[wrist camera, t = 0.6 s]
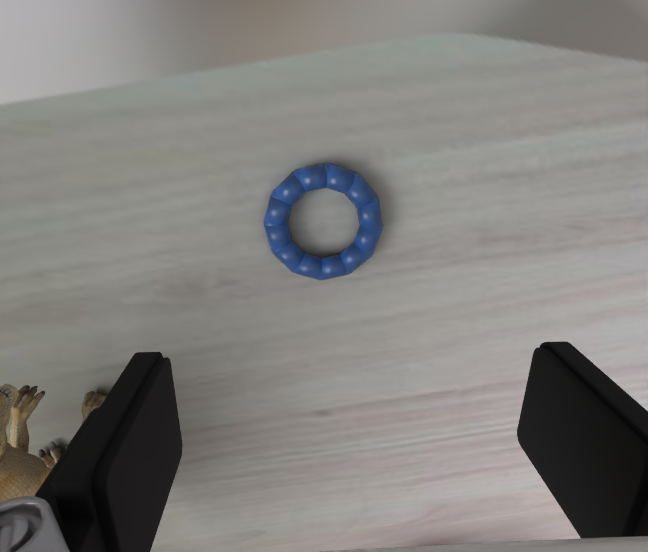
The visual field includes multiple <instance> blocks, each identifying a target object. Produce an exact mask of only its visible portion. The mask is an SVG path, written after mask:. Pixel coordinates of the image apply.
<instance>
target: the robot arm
mask: <svg viewBox="0 0 648 552" xmlns="http://www.w3.org/2000/svg"><path fill="white" fill-rule="evenodd" d="M517 436H518V441H519V443H520V445H521V447H522V449H523V450H524V452H525V453H526V455H527V456H528V458H529V459H530V461H531V462H532V464H533V465H534V467H535V468H536V470H537V471H538V473H539V475H540V476H541V478H542V479H543V481H544V482H545V484H546V485H547V487H548V488H549V490H550V491H551V493H552V494H553V496H554V497H555V499H556V501H557V502H558V504H559V505H560V507H561V508H562V510H563V511H564V513H565V514H566V516H567V517H568V519H569V520H570V522H571V523H572V525H573V527H574V528H575V530H576V531H577V533H578V534H579V536H580V537H581V539H561V540H539V541H516V542H494V543H474V544H454V545H434V546H414V547H395V548H375V549H356V550H338V551H321V552H648V411H647V410H645V409H644V408H643V407H642V406H641V405H640V404H639V403H637V402H636V401H635V400H634V399H633V398H632V397H631V396H629V395H628V394H627V393H626V392H625V391H624V390H623V389H621V388H620V387H619V386H618V385H617V384H616V383H615V382H613V381H612V380H611V379H610V378H609V377H608V376H607V375H605V374H604V373H603V372H602V371H601V370H600V369H599V368H598V367H596V366H595V365H594V364H593V363H592V362H591V361H590V360H588V359H587V358H586V357H585V356H584V355H583V354H582V353H580V352H579V351H578V350H577V349H576V348H575V347H574V346H572V345H571V344H570V343H568V342H544V343H542V344H541V345H540V348H536V349H535V351H534V353H533V357H532V362H531V367H530V372H529V377H528V381H527V386H526V391H525V396H524V401H523V405H522V410H521V415H520V420H519V424H518V429H517ZM181 455H182V438H181V431H180V424H179V417H178V410H177V403H176V397H175V390H174V383H173V376H172V369H171V363H170V359H169V358H163V356H162V354H161V353H160V352H138V353H135V354H134V356H133V357H132V359H131V360H130V362H129V363H128V365H127V366H126V368H125V369H124V371H123V372H122V374H121V375H120V377H119V379H118V380H117V382H116V383H115V385H114V386H113V388H112V389H111V391H110V392H109V394H108V395H107V397H106V398H105V400H104V401H103V403H102V404H101V406H100V407H97V408H95V409H93V410H92V411H91V413H90V414H89V415H88V417H87V418H86V420H85V421H84V423H83V424H82V426H81V427H80V429H79V430H78V432H77V433H76V435H75V436H74V438H73V439H72V440H71V442H70V443H69V445H68V446H67V448H66V449H65V451H64V452H63V454H62V455H61V457H60V458H59V460H58V461H57V463H56V464H55V466H54V467H53V469H52V470H51V472H50V473H49V475H48V476H47V478H46V479H45V481H44V482H43V484H42V485H41V486H40V488H39V489H38V491H37V492H36V494H35V495H34V496H22V497H18V498H13V499H9V500H6V501H4V502H1V503H0V552H150V550H151V547H152V544H153V541H154V538H155V535H156V532H157V529H158V526H159V523H160V520H161V517H162V514H163V511H164V508H165V505H166V502H167V499H168V496H169V492H170V489H171V486H172V483H173V480H174V477H175V474H176V471H177V468H178V465H179V462H180V459H181Z"/></svg>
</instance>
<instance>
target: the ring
mask: <svg viewBox="0 0 648 552" xmlns="http://www.w3.org/2000/svg"><path fill="white" fill-rule="evenodd" d="M322 188H329V189H332V190H335V191H338V192H341V193H344V194H345V195H346V196H347V197H348V198H349V199H350V200H351V201H352V203H353V204H354V205H355V206H356V207H357V212H358V217H359V222H360V227H359V229H358V232H357V235H356V238H355V240H354V242H353V243H352V244H351V245H350V246H349V247H348V248H346V249H345V250H344V251H343V252H342V253H341V254H339V255H334V256H329V257H325V258H319V257H316V256H312V255H309V254H306V253H304V252H303V251H302V250H301V249H300V248H299V247H298V246H297V245H296V244H295V243H294V242H293V241H292V240H291V236H290V232H289V228H288V224H287V221H288V218H289V215H290V211H291V208H292V205H293V204H294V203H295V202H296V201H297V200H298V199H299V198H301V197H302V196H303V195H304V194H305V193H306V192H308V191H313V190H317V189H322ZM264 226H265V230H266V234H267V237H268V241H269V245H270V248H271V251H272V252H273V254H274V255H275V256H276V257H277V258H278V259H279V260H280V261H281V262H282V263H283V264H285V265H286V266H287V267H288V268H289V269H290V270H291V271H292V272H293V273H296V274H300V275H303V276H307V277H310V278H314V279H317V280H325V279H330V278H335V277H339V276H344V275H348V274H350V273H352V272H353V271H354V270H355V269H357V268H358V267H359V266H360V265H361V264H362V263H364V262H365V261H366V260H367V259H368V258H370V257H371V256H372V254H373V252H374V250H375V247H376V244H377V242H378V239H379V237H380V234H381V231H382V229H383V223H382V217H381V211H380V204H379V199H378V196H377V195H376V194H375V192H374V191H373V190H372V189H371V188H370V186H369V185H368V184H367V183H366V182H365V181H364V179H363V178H362V177H361V176H360V175H359V174H358V173H356V172H354V171H351V170H348V169H345V168H342V167H339V166H336V165H333V164H329V163H323V164H319V165H314V166H310V167H305V168H301V169H297V170H295V171H294V172H292V173H291V174H290V175H289V176H288V177H287V178H286V179H285V180H284V181H283V182H282V183H281V184H280V185H279V186H278V187H276V188H275V189H274V190H273V192H272V194H271V197H270V200H269V204H268V207H267V211H266V214H265V218H264Z"/></svg>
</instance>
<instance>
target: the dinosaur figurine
mask: <svg viewBox="0 0 648 552" xmlns="http://www.w3.org/2000/svg"><path fill="white" fill-rule="evenodd" d="M37 387H38V386H34V387H32V388H31V389H30V387H29V386H28V385H26V386H23V387H22V388H21V389H20V390H19V391H18V390H17V389H16V388H15V387H13V386H11V385H9V384H5V385H3V386H1V387H0V503H1V502H4V501H6V500H9V499H13V498H18V497H22V496H34V495H35V494H36V492H37V491H38V489H39V488H40V486H41V485H42V484H43V482H44V481H45V479H46V478H47V476H48V475H49V473H50V472H51V470H52V469H53V467H54V466H55V464H56V463H57V461H58V460H59V458H60V457H61V455H62V454H61V452H60V450H59V448H58V447H57V446H56V445H55V443H54V442H51V443H50V447H51V449H50V452H51V454H52V456H53V457H52V456H50V455H49V454H48V453H45V452H44V451H43V450H42V449H41V450H39V456H40V458H38V457H37V456H35V455H32V454H29V453H28V446H29V435H28V430H27V425H26V420H27V419H28V418H29V416H30V414H31V413H32V411H33V410H34V409H35V407H36V406H37V405H38V403H39V401H40V400H41V399H42V397H43V396H44V394H45V392H44V391H41V392H40V393H38V394H37V395H35V396H34V394H35V393H36V392H37ZM29 389H30V390H29ZM24 395H25V396H24ZM33 396H34V397H33ZM23 397H24V398H23ZM106 397H107V396H105V395H103V394H101V393H97V394H96V393H95V392H93V391H91V392H88V393H86V394H85V396H84V401H83V404H82V414H83V422H82V424H83V423H84V421H85V420H86V418H87V417H88V415H89V414H90V413H91V411H92V410H93V409H95V408H97V407H100V406H101V404H102V403H103V401H104V400H105V398H106ZM22 398H23V399H22ZM11 407H12V414H13V419H12V425H11V430H10V444H9V443H7V434H6V431H5V429H6V426H7V424H8V422H9V418H10V414H11ZM67 446H68V445H67ZM67 446H66V447H65V449H66V448H67Z"/></svg>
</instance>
